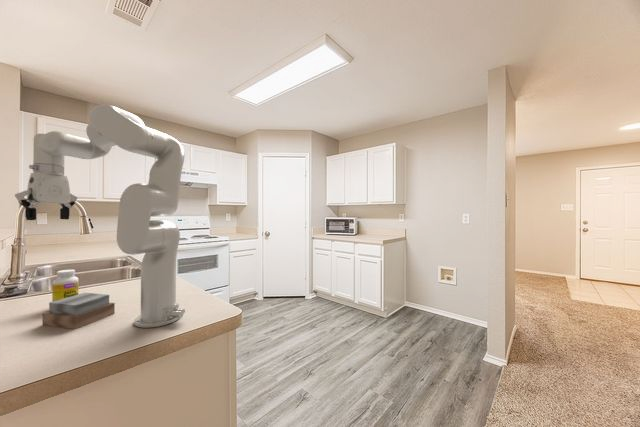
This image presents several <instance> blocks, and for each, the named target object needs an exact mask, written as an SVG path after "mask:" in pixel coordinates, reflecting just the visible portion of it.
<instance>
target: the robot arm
mask: <svg viewBox="0 0 640 427" xmlns="http://www.w3.org/2000/svg"><path fill="white" fill-rule="evenodd" d="M88 120H89V123H88V124H87V126H86V128H85V129H86V130H85V132H86V135H87V138H85V137H83V136H82V137H81V136H78V135H74V134H69V133H66V132H62V131H57V130H56V131H55V130H54V131H48V132H46V133H37V134H34V137H33V159H32V160H33V162H32V164H30V165H28V169H29V170H32V172H31V173H30V175H29V179H28V182H27V189H25V190H23V191H20V192H18V193H15V194H14V197H15V198H16V200H17V202H18V204H20V205H21V206H22V207H23V209H24V208H25V212H24V213H25V218H26V219H25V220H26V221H36V220H37V208H36V206H37V205H38V204H39V203H42V204H44V203H45V204H58V205H59V206H60V207H61V208H59V209H60V210H59V212H60V213H59V215H60V216H59V219H60V220H70V212H71V211H70V209H72V208H73V206H74V205H75V204H76V202H77V200H78V197H77V196H76V195H74V194H72V193H71V187H70V182H69V179H68V177H67V175H65V157H71V158H78V159H81V160H94V159H98V158H101V157H106V155H108V154H109V153H110V152H111V150H112V147H114V146H117V147H119V148H121V149H122V150H124V151H127V152H129V153H131V154H137V155H142V156H145V157H150V158H154V159H156V161H155V162H154V163H153V164H152V165H151V168H150V170H149V178H148V183H141V182H138V183H132V184H129V186H127V187H126V188H125V189H124V190H123V192H122V194H121V195H120V200H119V206H118V215H117V216H118V217H117V225H116V243H117V246H118V248H119V249H120V251H121V252H123V254H127V255H141V254H144V255H143V257H142V260H141V265H140V314H139V315H138V316H136V317H135V318H134V320H133V322H134V326H135V327H138V328H145V329H147V328H148V329H150V328H157V327H162V326H166V325H169V324H173V323H175V322H177V321H178V320H179V319H181V318H183V316H184V314H185V313H186V308H180V307H179V306H180V305H179V303H176V302H177V299H176V298H177V297H176V296H177V291H176V290H177V258H178V257H177V255H178V248H179V244H180V239H181V234H180V229H179V227H178V225H177V224H175V223H174V222H172V221H170V220H164V219H156V220H155V219H153V220H152V219H151V217H167V216H170V215H173V214H174V213H176V211H177V209H178V207H179V199H180V188H181V178H182V170H183V167H184V162H185V150H184V148H183V146H182V144H181V143H180V141H178V140H177V139H176V138H174V137H173V136H171V135H168V134H167V133H163V132H162V131H158V130H157V129H153V128H150V127H148V126H146V125H145V123H144V121H143V120H142V119H141V118H140V117H139V116H137V115H136V114H133V113H131V112H129V111H126V110H124V109H121V108H119V107H117V106H114V105H111V104H109V103H108V104H106V103H102V104H97V105H96V106H94V107H93V108H92V109H91V110H90V111H89V115H88ZM25 197H26V198H25Z"/></svg>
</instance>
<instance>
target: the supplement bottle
mask: <svg viewBox="0 0 640 427" xmlns="http://www.w3.org/2000/svg"><path fill="white" fill-rule="evenodd" d="M75 274H76V270H75V269H72V268H71V269H62V270H58V271H57V272H56V276H57V277H56V278H55V279H54V280H53V281H52V295H51V296H52V298H51V299H52V300H51V302H53V301H57V300H60V299H64V298H68V297H71V296H75V295H78V294H79V284H80V283H79V277H77V276H75Z"/></svg>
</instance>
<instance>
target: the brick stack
mask: <svg viewBox="0 0 640 427" xmlns="http://www.w3.org/2000/svg"><path fill="white" fill-rule="evenodd" d="M115 304H116V303H115V302H110V294H103V293H91V292H83V293H78V295H75V296H71V297H68V298H64V299H60V300H57V301H53V302H52V301H51V302H49V303H48V311H46V312H43V313H42V326H46V327H54V328H60V329H61V328H62V329H63V328H64V329H68V330H69V329H70V330H71V329H72V330H76V329H79V328H82V327H84V326H86V325H89V324H92V323H94V322H96V321H99V320H102V319H104V318H107V317H110V316H112V315H115V312H116V311H115Z"/></svg>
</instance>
